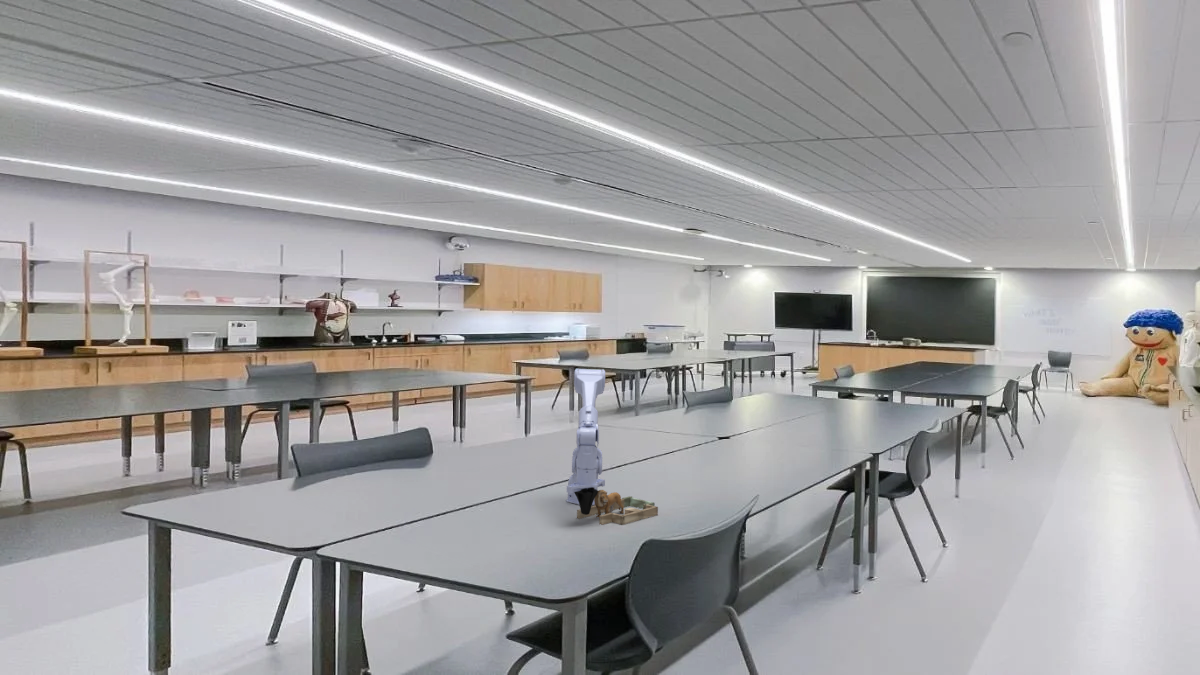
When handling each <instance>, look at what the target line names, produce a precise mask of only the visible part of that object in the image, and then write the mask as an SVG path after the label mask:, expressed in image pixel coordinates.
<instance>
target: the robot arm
mask: <svg viewBox="0 0 1200 675" xmlns="http://www.w3.org/2000/svg"><path fill="white" fill-rule="evenodd" d="M573 374H574V376H573V377H574V379H573V386H574V391H575V393H576V394H579V395H580V397H581V399H582V407H581V408H580V409H579V411H578V425H577V426H578V428H576V440H575V442H576V447H575V448H574V449H573V450H572V456H571V459H572V460H571V473H572V474H571V475H570V476H569V478H568V482H567V485H566V493H567V499H565V502H567V503H571V504H575V505H579V509H581V514H585V515H588V514H589V513H590V509H591V506H595V502H594V498H595V496H596V495H597V493H598V491H599V490H598V488H600V487H605V486H606V479H602V478H599V476H601V475H602V473H603V452H602V450H601V449H600V448H599V445H600V444H599V443H600V442H599V441H600V430H599V424H598V422H599V411H598V410H597V408H596V400H597V399H598V396H599V395H603V393H604V391H605V387H606V370H605V369H603V368H602V369H593V368H590V369H589V368H588V369H587V368H575V370H574V373H573Z"/></svg>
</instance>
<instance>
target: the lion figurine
mask: <svg viewBox="0 0 1200 675" xmlns="http://www.w3.org/2000/svg"><path fill="white" fill-rule="evenodd" d="M621 499H622V496H621V494H620V493H619V492H615V491H614V492H611V493H609V494H608V491H606V490H604V489H599V490H598V493H597V495H596V496H595V498H594V502H595V505H596V507H597V511H598V514H596V515H595V516H596V518H597V517H600V515H602V513H601V510H603V509H605V512H604V514H608V513H613V511H614V510H613V509H614V503H615V502H616V503H617V505H618V506H619V509H618V510H620V511H619V514H620V515H624V514H625V507H623V505H622V502H621ZM595 505H594V506H595ZM610 506H611V509H610V511H608V510H609V507H610Z"/></svg>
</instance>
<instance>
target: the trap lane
mask: <svg viewBox="0 0 1200 675" xmlns="http://www.w3.org/2000/svg"><path fill="white" fill-rule="evenodd" d="M621 502H622V505H623V507H624V514H620V513H619V514H618V513H616V512H615V513H614V512H612V513H608V514H605V509H603V510H601V515H600V517H599V518H598V519H599V522H598V523H599V525H600V524H601V526H603V525H607V524H610V523H614V524H618V525H621V526H624V525H626V524H630V523H634V522H639V521H641V519H642V520H645V519H649V518H652V517H654V516H655V515H656V516H658V514H659V507H658V506H655V503H656V502H653V501H649V500H643V499H640V498H636V497H635V498H634V497H633V496H630V495H629V496H626V497H621ZM627 506H628V507H627ZM633 506H634V507H633ZM637 507H639V508H637ZM641 508H643V509H641ZM610 509H611V506H610V507H609V510H608V511H610ZM615 509H616V510H619V506H618V505H617V503H616V502H615V503H614V509H613V511H616V510H615ZM603 512H604V514H603ZM595 514H596V515H598V511H597V507H596V505H592V506H591V509H590V513H589V514H588V515H585V514H581V509H580V508H579V509H577V510H576V519H579V520H580V519H584V517H585V518H588V517H593V516H596V515H595ZM651 516H652V517H651ZM656 516H655V517H656ZM648 517H649V518H648Z"/></svg>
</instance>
